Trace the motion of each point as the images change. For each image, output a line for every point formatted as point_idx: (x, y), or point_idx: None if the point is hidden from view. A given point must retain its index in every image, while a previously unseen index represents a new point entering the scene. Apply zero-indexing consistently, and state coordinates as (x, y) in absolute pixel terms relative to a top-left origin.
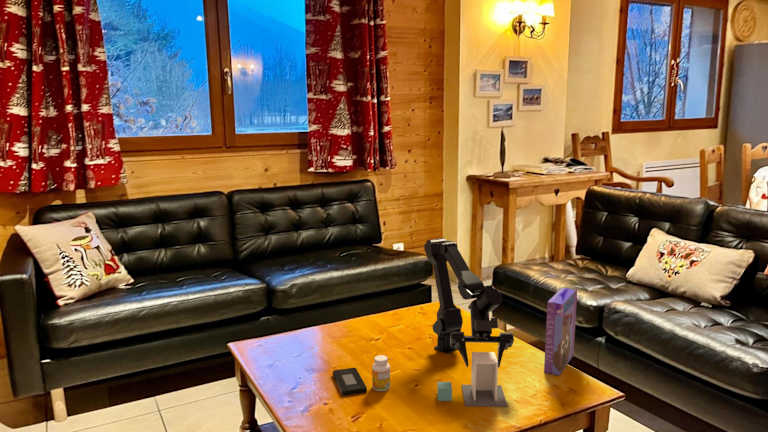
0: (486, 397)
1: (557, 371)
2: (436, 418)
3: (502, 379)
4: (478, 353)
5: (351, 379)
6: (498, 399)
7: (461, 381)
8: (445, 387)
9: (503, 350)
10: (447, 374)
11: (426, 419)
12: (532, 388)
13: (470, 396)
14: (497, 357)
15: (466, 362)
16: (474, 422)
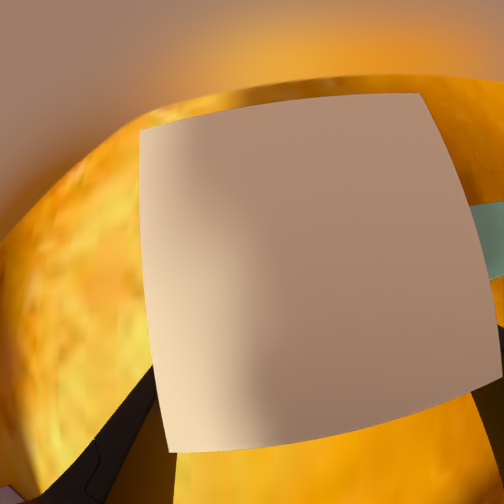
0: None
1: (2, 492)
2: (440, 106)
3: (197, 491)
4: (428, 360)
5: None
6: None
7: (409, 434)
8: (489, 212)
9: (59, 480)
10: (462, 472)
11: (462, 101)
12: (69, 408)
13: None
14: (173, 493)
15: None
16: (313, 92)
